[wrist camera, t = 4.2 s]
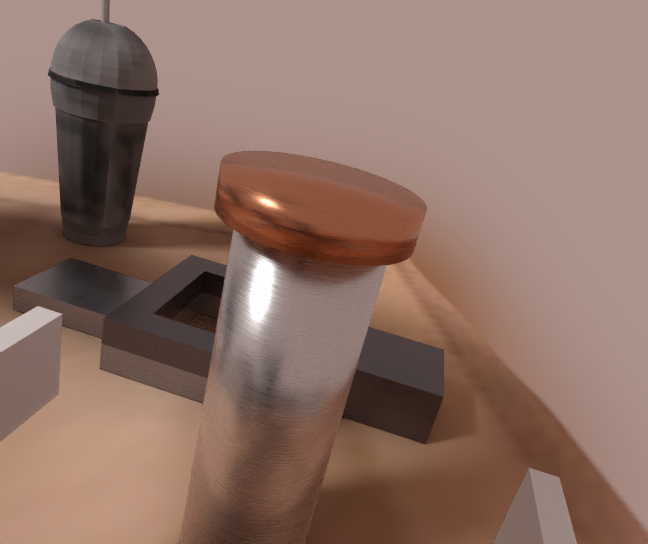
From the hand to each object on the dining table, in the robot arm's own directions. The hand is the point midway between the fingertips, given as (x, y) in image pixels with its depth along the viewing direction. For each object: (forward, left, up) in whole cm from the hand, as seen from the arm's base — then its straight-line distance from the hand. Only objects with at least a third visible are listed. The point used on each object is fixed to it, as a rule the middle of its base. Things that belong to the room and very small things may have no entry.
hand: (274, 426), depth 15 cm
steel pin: (-2, +2, -8) cm, 8 cm away
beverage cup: (-32, +6, -8) cm, 33 cm away
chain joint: (-14, +8, -8) cm, 18 cm away
